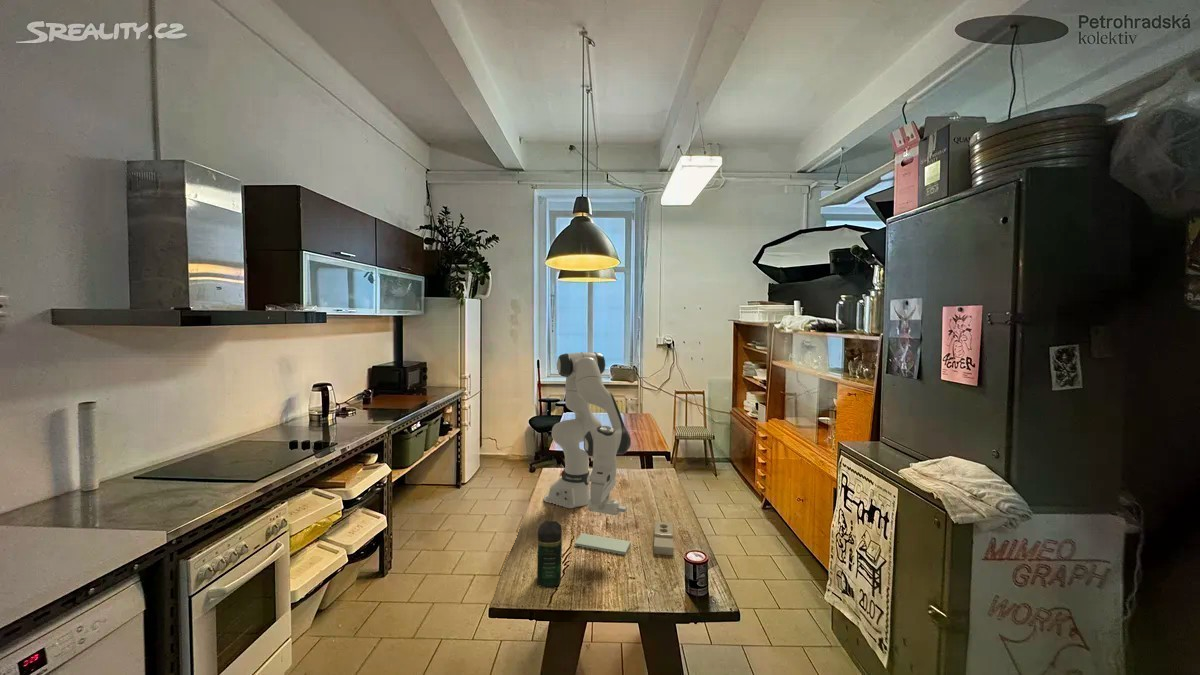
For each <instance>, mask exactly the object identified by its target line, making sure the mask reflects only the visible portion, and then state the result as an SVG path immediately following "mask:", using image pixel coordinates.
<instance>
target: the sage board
mask: <svg viewBox="0 0 1200 675" xmlns="http://www.w3.org/2000/svg"><path fill="white" fill-rule="evenodd" d="M575 545H576V546H575ZM631 545H632V541H631V540H630V541H629V540H623V539H617V538H612V537H607V536H606V537H605V536H599V535H596V534H595V535H594V534H589V533H584V532H583V533H582V532H581V533H580V535H579V536H578V537H577V539H576V540H575V541H574V546H575V547H577V546H582V547H581V548H583V547H586V548H585V549H588V548H593V549H592V550H594V549H598V550H597V551H599V550H603V551H602V552H605V551H609V552H608V553H610V552H613V553H612V554H616V553H617V555H621V554H622V556H626V555H627V553H628V551H629V549H630V547H631Z"/></svg>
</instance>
